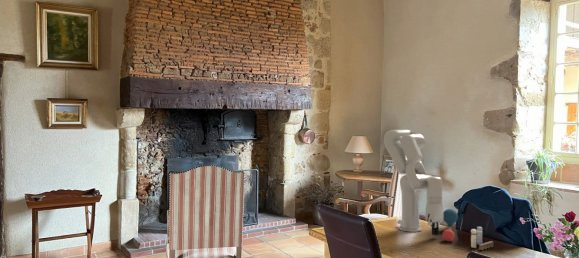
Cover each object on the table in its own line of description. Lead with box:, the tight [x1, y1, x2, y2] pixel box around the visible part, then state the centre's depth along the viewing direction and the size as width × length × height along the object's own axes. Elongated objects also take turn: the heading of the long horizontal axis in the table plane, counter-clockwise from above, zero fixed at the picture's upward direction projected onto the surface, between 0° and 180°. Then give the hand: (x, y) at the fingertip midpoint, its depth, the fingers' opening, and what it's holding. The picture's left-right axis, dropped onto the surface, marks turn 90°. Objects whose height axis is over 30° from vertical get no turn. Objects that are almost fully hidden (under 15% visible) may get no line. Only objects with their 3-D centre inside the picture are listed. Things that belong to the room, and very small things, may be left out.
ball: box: [441, 228, 456, 242], centre depth 231 cm, size 6×6×6 cm
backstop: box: [478, 240, 494, 251], centre depth 217 cm, size 1×11×2 cm, turn 127°
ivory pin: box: [470, 228, 477, 249], centre depth 219 cm, size 2×2×8 cm
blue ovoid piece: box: [442, 208, 459, 231], centre depth 254 cm, size 8×8×12 cm
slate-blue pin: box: [476, 226, 483, 246], centre depth 224 cm, size 2×2×8 cm
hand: (435, 234), depth 237 cm, fingers closed
